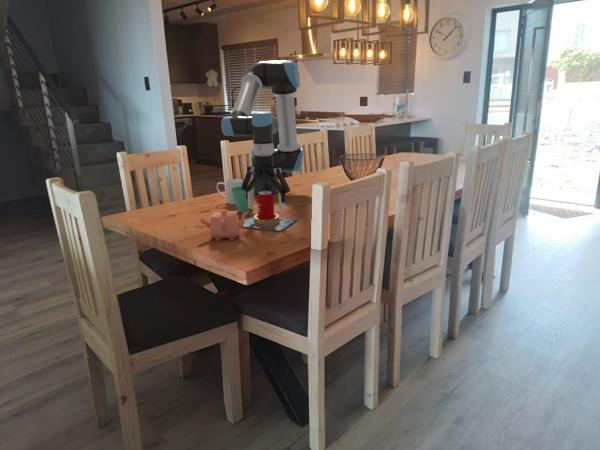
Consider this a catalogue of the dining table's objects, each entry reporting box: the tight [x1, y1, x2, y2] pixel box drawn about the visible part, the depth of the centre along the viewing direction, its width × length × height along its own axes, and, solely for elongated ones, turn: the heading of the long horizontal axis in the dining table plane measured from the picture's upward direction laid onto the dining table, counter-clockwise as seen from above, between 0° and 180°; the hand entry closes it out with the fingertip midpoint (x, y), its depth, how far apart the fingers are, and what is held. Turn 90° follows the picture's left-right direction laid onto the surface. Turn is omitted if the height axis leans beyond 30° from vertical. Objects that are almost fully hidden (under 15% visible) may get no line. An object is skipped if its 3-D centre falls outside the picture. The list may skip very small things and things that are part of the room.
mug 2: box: [232, 186, 255, 213], centre depth 193 cm, size 15×10×10 cm
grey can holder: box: [241, 212, 299, 233], centre depth 173 cm, size 16×20×3 cm
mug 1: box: [216, 178, 243, 206], centre depth 205 cm, size 12×8×10 cm, turn 91°
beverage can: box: [256, 191, 275, 219], centre depth 172 cm, size 6×6×12 cm
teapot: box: [199, 209, 250, 242], centre depth 157 cm, size 14×12×10 cm
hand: (266, 208), depth 172 cm, fingers open, 13 cm apart
